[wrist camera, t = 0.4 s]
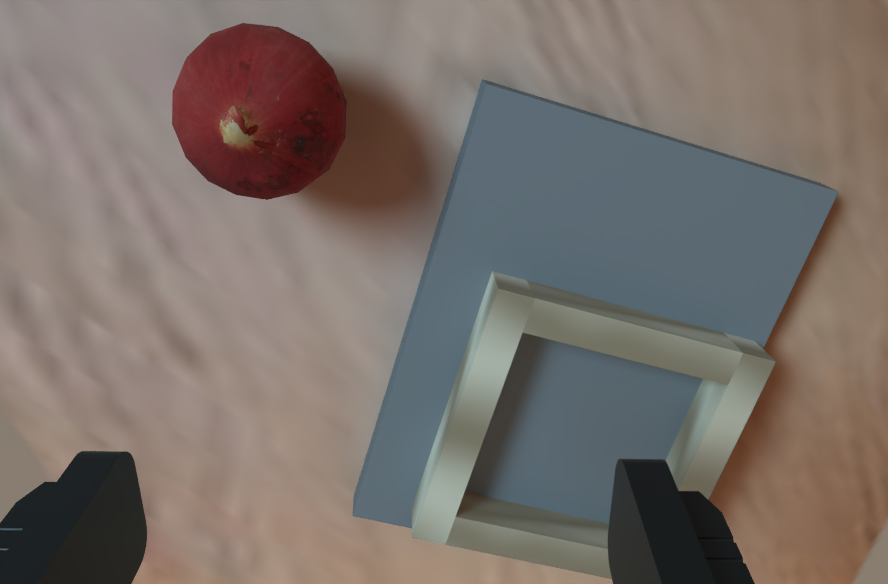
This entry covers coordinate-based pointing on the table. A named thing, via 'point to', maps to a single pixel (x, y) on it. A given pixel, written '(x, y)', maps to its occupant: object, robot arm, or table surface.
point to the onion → (258, 111)
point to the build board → (586, 273)
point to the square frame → (599, 329)
